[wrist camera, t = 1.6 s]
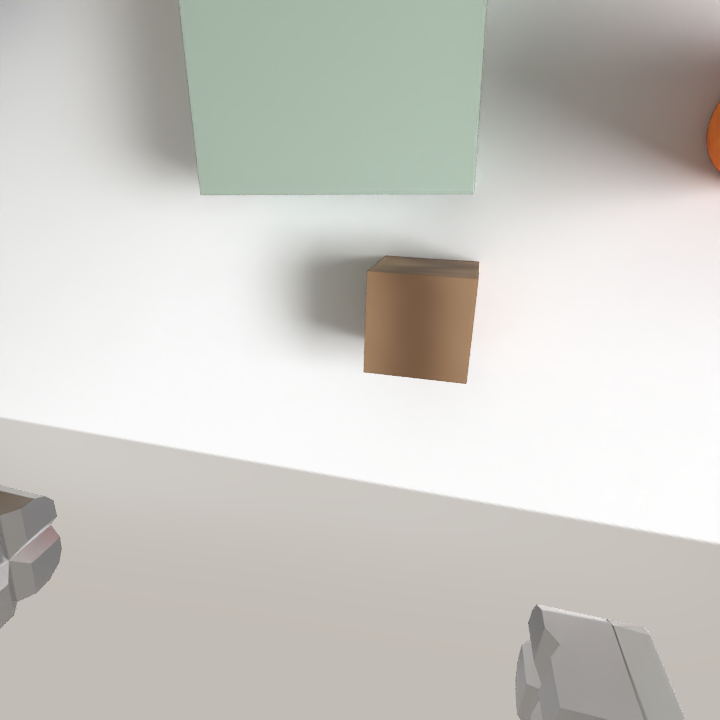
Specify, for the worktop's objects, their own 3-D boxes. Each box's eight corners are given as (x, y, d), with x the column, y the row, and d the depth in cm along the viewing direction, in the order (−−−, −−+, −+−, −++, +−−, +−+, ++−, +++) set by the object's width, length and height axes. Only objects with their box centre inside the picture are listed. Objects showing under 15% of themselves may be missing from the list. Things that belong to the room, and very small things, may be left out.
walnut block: (478, 261, 32) (478, 279, 26) (468, 350, 34) (466, 383, 28) (386, 255, 33) (367, 271, 27) (382, 341, 35) (363, 372, 30)
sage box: (493, -96, 26) (498, -204, 18) (474, 190, 31) (472, 194, 23) (243, -65, 29) (161, -148, 21) (261, 191, 34) (200, 194, 26)
